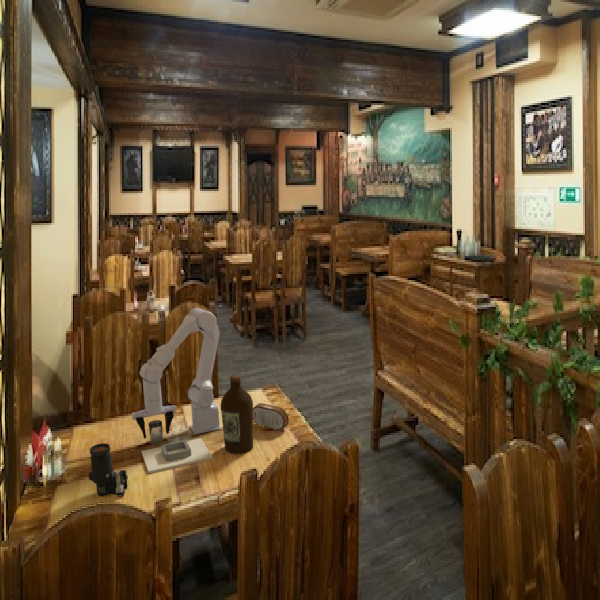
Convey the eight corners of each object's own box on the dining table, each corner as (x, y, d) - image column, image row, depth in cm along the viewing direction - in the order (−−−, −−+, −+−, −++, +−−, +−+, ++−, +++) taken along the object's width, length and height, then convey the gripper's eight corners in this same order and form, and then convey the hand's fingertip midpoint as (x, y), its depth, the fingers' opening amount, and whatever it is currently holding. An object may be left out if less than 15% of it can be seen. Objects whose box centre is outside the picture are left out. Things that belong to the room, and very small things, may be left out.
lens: (162, 437, 184) (160, 419, 183) (164, 442, 180) (162, 423, 179) (149, 440, 182) (147, 421, 181) (151, 445, 178) (149, 426, 177)
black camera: (117, 453, 143) (80, 455, 143) (122, 499, 146) (85, 501, 145) (125, 439, 151) (90, 442, 151) (129, 483, 154) (95, 486, 153)
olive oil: (235, 438, 182) (231, 369, 177) (261, 444, 176) (257, 373, 172) (216, 451, 172) (212, 379, 168) (243, 457, 167) (238, 383, 163)
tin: (289, 430, 187) (288, 408, 185) (284, 433, 184) (283, 411, 183) (256, 422, 195) (255, 400, 193) (250, 425, 192) (249, 403, 191)
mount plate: (201, 440, 181) (200, 432, 180) (212, 458, 167) (211, 450, 167) (141, 453, 173) (140, 444, 172) (148, 473, 159) (147, 464, 159)
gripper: (172, 390, 185) (175, 426, 187) (129, 397, 179) (133, 434, 181) (176, 396, 178) (179, 434, 181) (132, 404, 172) (135, 443, 175)
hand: (156, 435), depth 181 cm, fingers open, 7 cm apart
